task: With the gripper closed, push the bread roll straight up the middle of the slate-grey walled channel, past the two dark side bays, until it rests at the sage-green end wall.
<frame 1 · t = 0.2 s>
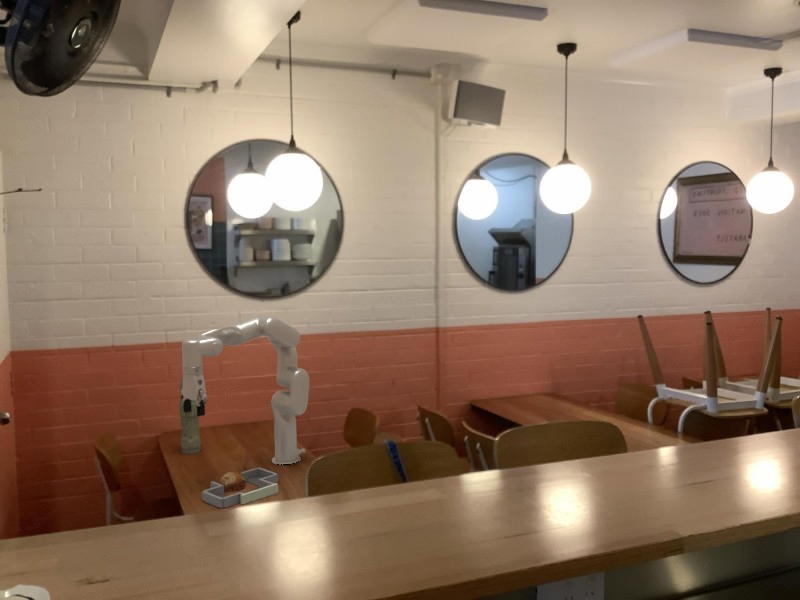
hand: (194, 413, 285), 30 cm above the table, tool pointing down, fingers open, 9 cm apart
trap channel: (242, 491, 284), on the table
bread roll: (232, 488, 288), on the table
grey green carved statue: (191, 452, 337), on the table
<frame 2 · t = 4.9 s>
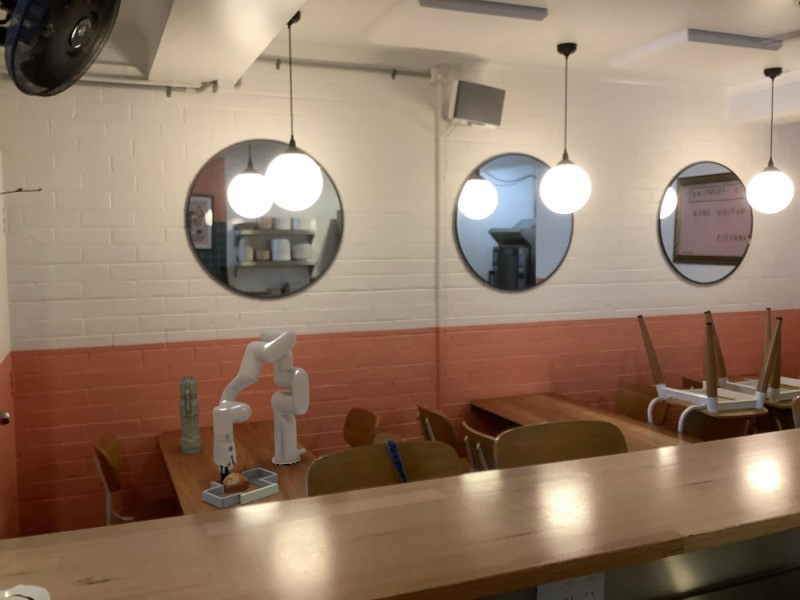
hand: (225, 481, 291), 1 cm above the table, tool pointing down, fingers closed
bread roll: (235, 489, 287), on the table
everything else where it was.
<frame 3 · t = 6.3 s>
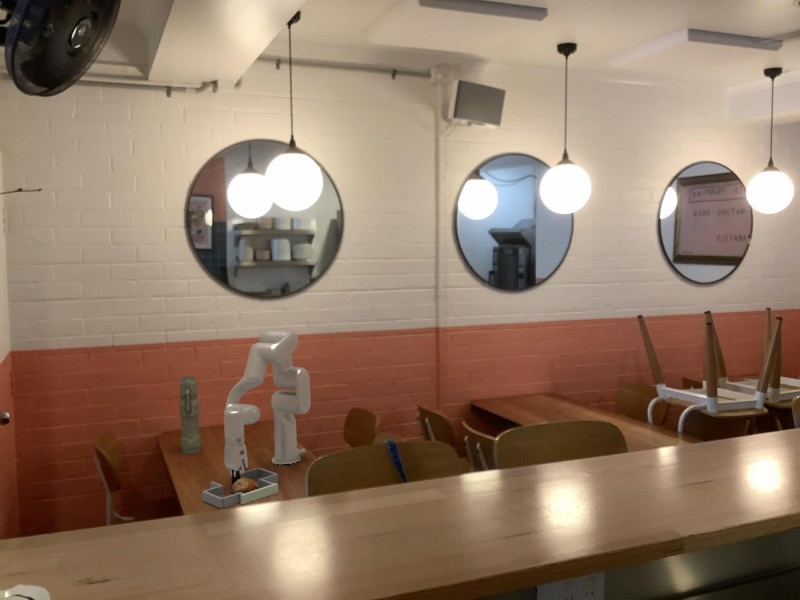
hand: (236, 485, 286), 1 cm above the table, tool pointing down, fingers closed
bread roll: (245, 494, 281), on the table
everything else where it was.
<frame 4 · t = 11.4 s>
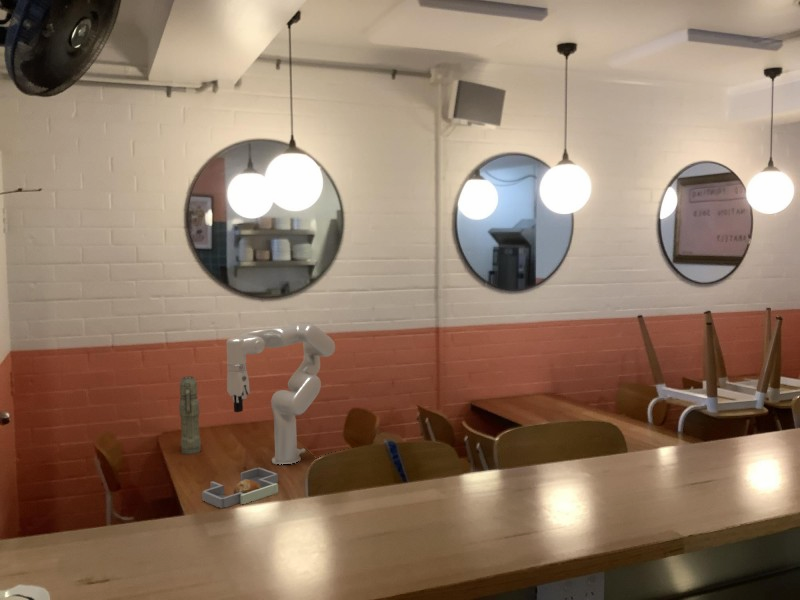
hand: (238, 411, 301), 27 cm above the table, tool pointing down, fingers closed
bread roll: (248, 496, 280), on the table
everything else where it was.
at the end: bread roll inside the target area (1.4 cm from its centre), on the table; bread roll moved 12.0 cm from its start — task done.
